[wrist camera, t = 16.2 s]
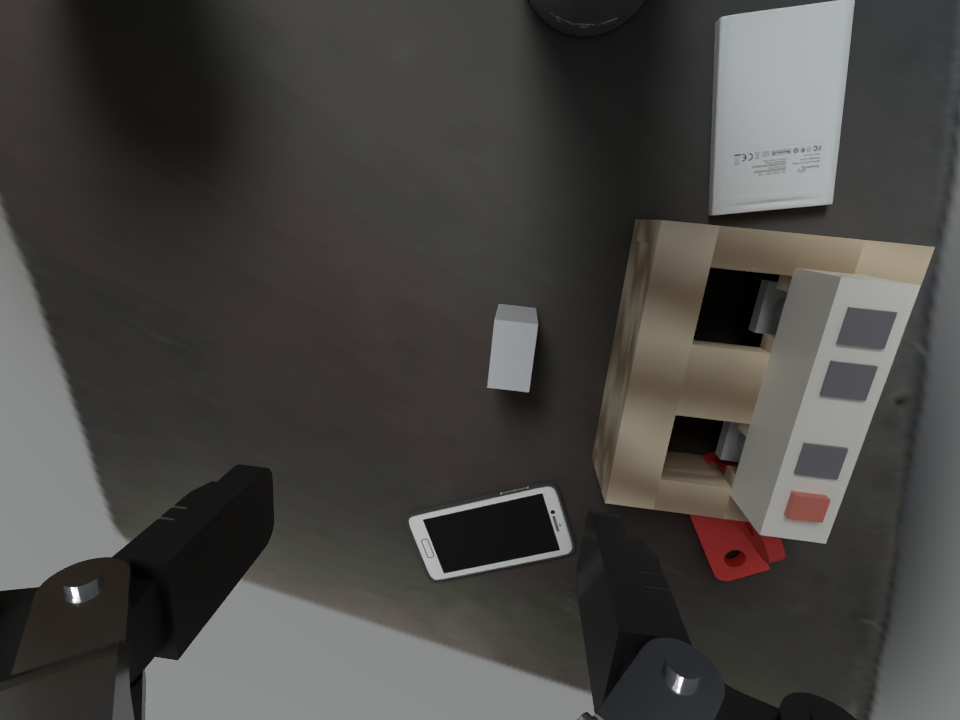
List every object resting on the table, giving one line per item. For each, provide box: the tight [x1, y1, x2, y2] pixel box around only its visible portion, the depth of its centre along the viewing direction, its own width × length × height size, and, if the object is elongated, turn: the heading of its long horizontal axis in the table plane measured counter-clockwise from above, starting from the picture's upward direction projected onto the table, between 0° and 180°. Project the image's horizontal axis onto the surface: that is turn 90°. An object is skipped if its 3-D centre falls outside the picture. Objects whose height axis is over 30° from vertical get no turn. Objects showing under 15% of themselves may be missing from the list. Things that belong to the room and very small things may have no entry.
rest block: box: [487, 304, 538, 392], centre depth 36 cm, size 5×3×6 cm, turn 174°
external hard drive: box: [708, 0, 855, 216], centre depth 33 cm, size 2×8×12 cm
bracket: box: [689, 451, 785, 581], centre depth 38 cm, size 12×4×8 cm, turn 25°
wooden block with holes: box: [592, 219, 935, 532], centre depth 35 cm, size 20×16×7 cm
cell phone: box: [406, 481, 575, 582], centre depth 45 cm, size 8×15×1 cm, turn 107°
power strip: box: [715, 268, 921, 544], centre depth 31 cm, size 16×4×9 cm, turn 175°
